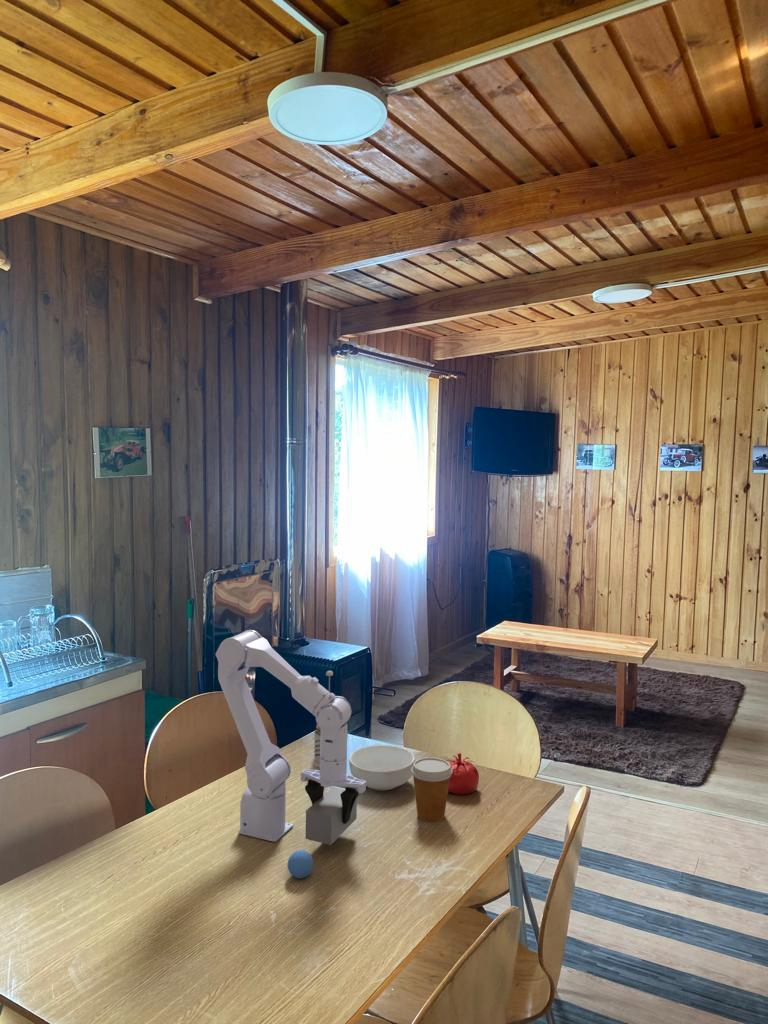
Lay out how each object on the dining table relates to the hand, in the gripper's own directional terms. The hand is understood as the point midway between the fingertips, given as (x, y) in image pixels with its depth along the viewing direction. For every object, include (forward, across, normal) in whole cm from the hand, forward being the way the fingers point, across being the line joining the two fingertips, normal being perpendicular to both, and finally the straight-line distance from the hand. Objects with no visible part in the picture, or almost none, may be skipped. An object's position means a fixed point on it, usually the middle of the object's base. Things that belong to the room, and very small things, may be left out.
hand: (332, 818), depth 160 cm
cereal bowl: (+6, -2, +32) cm, 32 cm away
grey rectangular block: (+2, 0, 0) cm, 2 cm away
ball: (+3, 0, -14) cm, 15 cm away
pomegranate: (+6, +17, +37) cm, 41 cm away
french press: (+6, -20, +39) cm, 44 cm away
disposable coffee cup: (+5, +15, +21) cm, 26 cm away
